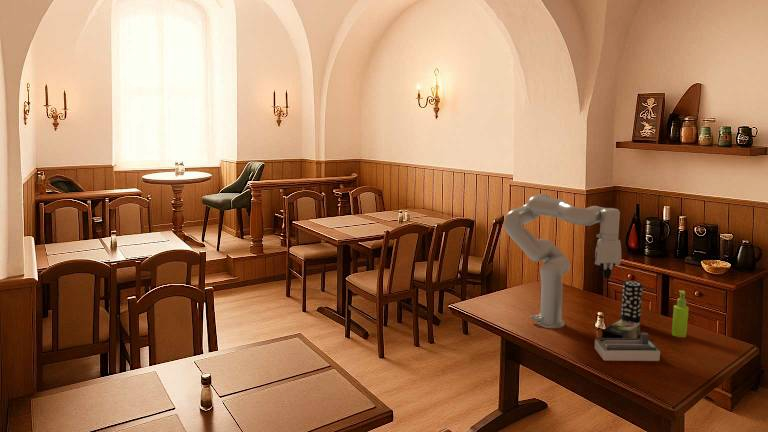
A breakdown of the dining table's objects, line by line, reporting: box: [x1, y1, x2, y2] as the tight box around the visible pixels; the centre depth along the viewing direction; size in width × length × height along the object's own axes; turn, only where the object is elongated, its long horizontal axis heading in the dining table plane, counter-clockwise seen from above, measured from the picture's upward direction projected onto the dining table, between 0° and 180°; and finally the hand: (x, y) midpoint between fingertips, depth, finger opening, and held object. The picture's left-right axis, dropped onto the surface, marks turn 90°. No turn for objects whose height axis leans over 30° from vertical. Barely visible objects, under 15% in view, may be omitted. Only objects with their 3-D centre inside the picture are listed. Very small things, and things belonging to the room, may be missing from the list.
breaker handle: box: [639, 332, 650, 344], centre depth 237 cm, size 2×2×5 cm
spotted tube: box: [620, 280, 644, 325], centre depth 270 cm, size 8×8×20 cm
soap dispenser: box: [671, 289, 690, 338], centre depth 257 cm, size 6×7×20 cm
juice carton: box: [601, 319, 641, 338], centre depth 255 cm, size 20×10×6 cm, turn 135°
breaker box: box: [594, 337, 661, 362], centre depth 238 cm, size 22×12×5 cm, turn 87°
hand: (606, 277), depth 254 cm, fingers closed
